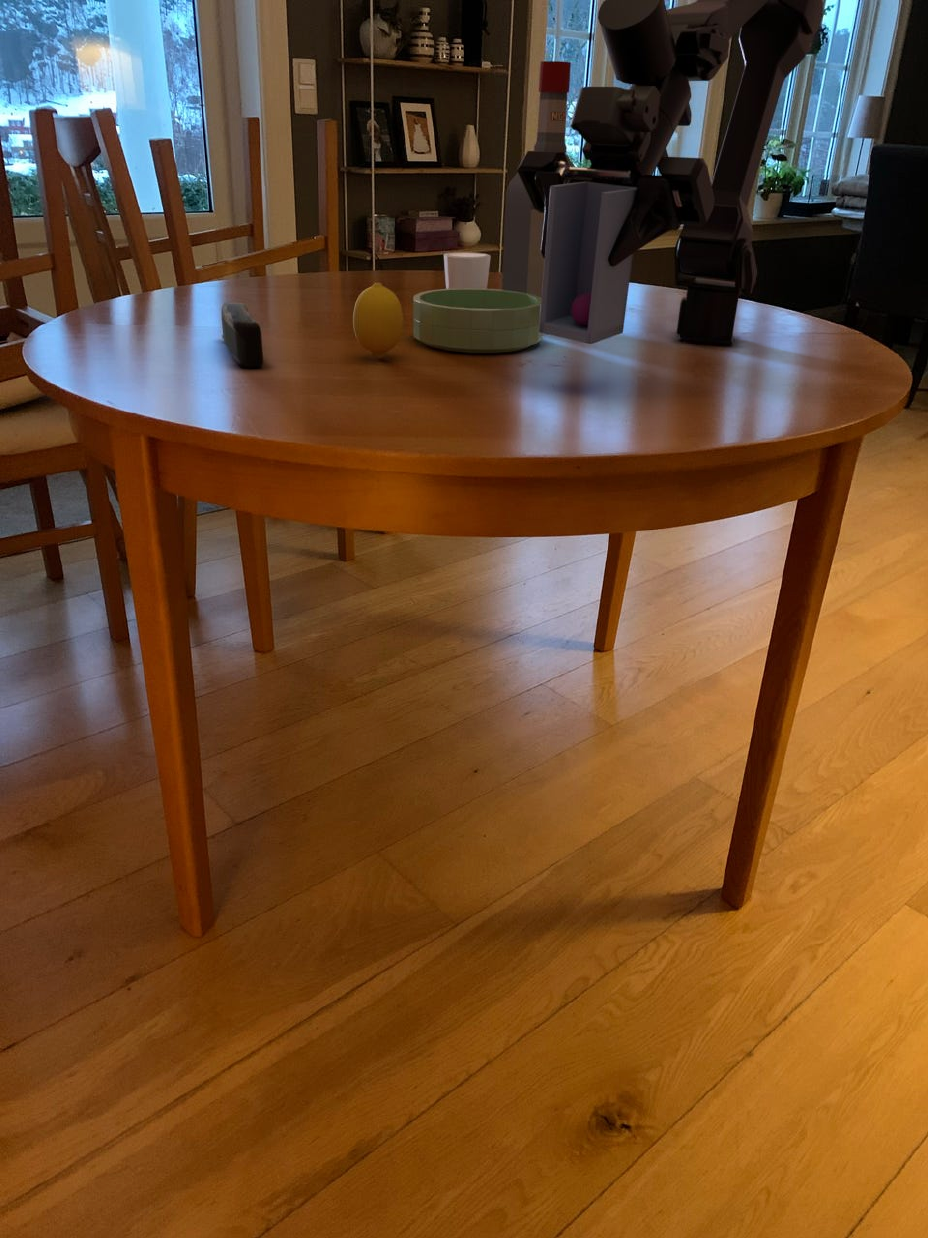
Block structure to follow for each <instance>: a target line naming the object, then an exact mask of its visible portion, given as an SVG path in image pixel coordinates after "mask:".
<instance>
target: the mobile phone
mask: <svg viewBox="0 0 928 1238" xmlns="http://www.w3.org/2000/svg"><path fill="white" fill-rule="evenodd" d="M220 312H221V327H222V334H221V338H222V339H223V342H224V344H225V346H226V348H228V350H229V353H230V354H231V356H232V357H233V359H234V361H235V362H236V363H237V365H238V366H240V367H244V368H245V367H246V368H257V367H262V366H263V365H264V352H263V341H262V340H263V339H262V330H261V326H260V324H259V323H258V322H257V321H255V320H254V318H253V316H252V315H251V314H250V313H249V309H248V307H247V305H246V304H245V303H243V302H234V301H232V302H224V303H223V304H222V307H221V311H220Z"/></svg>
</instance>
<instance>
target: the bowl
mask: <svg viewBox="0 0 928 1238" xmlns="http://www.w3.org/2000/svg"><path fill="white" fill-rule="evenodd" d="M412 297H413V299H412V301H413V304H412V307H413V310H412V311H413V313H412V315H413V320H412V321H413V324H412V326H413V329H412V330H413V332H412V333H413V334H412V335H413V338H415V339H416V340H418V341H419V342H422V343H424V344H425V345H426V346H429V347H432V348H435V349H437V350H438V349H439V350H443V351H449V352H456V353H465V354H466V353H467V354H501V353H511V352H517V351H522V350H525V349H527V348H529V347H530V346H534V345H536V344H539V343H540V342H541V341H542V339H543V333H540V332H539V325H540V313H541V300H542V298H540V297H537V296H535V295H532V294H527V293H523V292H516V291H508V290H502V289H499V288H498V289H497V288H487V289H483V288H454V289H446V288H441V289H432V290H431V289H430V290H426V291H422V292H419V293H417V294H414V295H413V296H412Z"/></svg>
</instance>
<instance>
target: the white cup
mask: <svg viewBox="0 0 928 1238" xmlns="http://www.w3.org/2000/svg"><path fill="white" fill-rule="evenodd" d="M491 257H492V256H491V254H487V253H485V252H484V253H483V252H475V251H453V252H446V253H443V265H444V279H445V289H454V288H483V289H488V283H489V275H490V267H491V259H492V258H491Z"/></svg>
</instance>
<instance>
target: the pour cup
mask: <svg viewBox="0 0 928 1238" xmlns="http://www.w3.org/2000/svg"><path fill="white" fill-rule="evenodd" d="M636 190H637V188H636V187H628V186H620V185H611V184H603V183H595V182H587V181H585V182H577V183H569V184H561V185H553V186H551V188H550V200H549V213H548V225H547V238H546V250H545V263H544V275H543V288H542V300H541V313H540V325H539V332H540V333H542V334H545V335H549V336H553V337H558V338H561V339H565V340H571V341H575V342H578V343H579V342H580V343H583V344H588V345H594V344H596V343H599V342H601V341H604V340H606V339H611V338H612V337H615V336H617V335H621V334H623V333H624V327H625V318H626V312H627V303H628V297H629V295H628V294H629V288H630V281H631V272H632V265H633V258H634V257H633V256H634V253H633V254H632V255H630V256H629V257H628V258H626V259H625V260H623V261H622V262H620V263H619V264H618V265H616V266H615V267H612V266H610V264H609V261H608V257H609V255H610V252H611V250H612V248H613V245H614V243H615V241H616V238H617V236H618V234H619V232H620V230H621V228H622V226H623V224H624V222H625V220H626V218H627V216H628V215H629V213H630V211H631V209H632V207H633V204H634V201H635V196H636ZM584 293H591V302H590V311H589V320H588V326H581V325H579V324H578V323H576V322H575V321H574V319H573V317H572V315H571V306H572V303H573V301H574V300H575V299H576V298H577V297H578V296H579V295H581V294H584Z"/></svg>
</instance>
